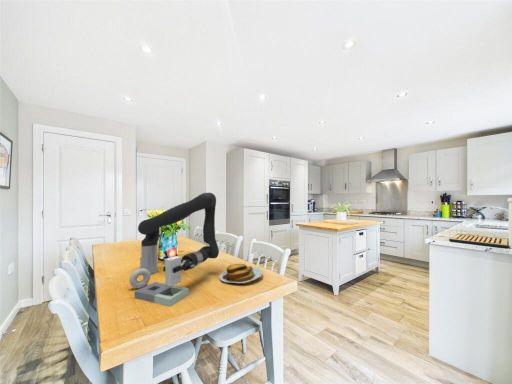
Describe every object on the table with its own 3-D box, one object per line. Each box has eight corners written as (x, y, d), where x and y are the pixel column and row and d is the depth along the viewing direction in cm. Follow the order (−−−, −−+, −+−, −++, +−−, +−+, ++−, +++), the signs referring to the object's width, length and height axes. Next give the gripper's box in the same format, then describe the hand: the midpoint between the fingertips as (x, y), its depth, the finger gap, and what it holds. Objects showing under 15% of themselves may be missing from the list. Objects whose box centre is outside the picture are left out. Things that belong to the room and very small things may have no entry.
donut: (130, 292, 107) (130, 271, 107) (128, 289, 109) (128, 270, 110) (151, 286, 114) (151, 267, 114) (149, 284, 116) (149, 265, 117)
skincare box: (176, 280, 105) (175, 255, 105) (182, 282, 102) (181, 256, 103) (164, 284, 100) (164, 258, 100) (170, 287, 97) (169, 260, 98)
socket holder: (134, 297, 101) (134, 291, 101) (155, 287, 112) (155, 281, 112) (170, 306, 92) (170, 299, 93) (188, 294, 104) (188, 288, 104)
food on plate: (258, 288, 111) (258, 275, 111) (212, 285, 115) (212, 273, 116) (265, 271, 136) (265, 261, 136) (227, 269, 140) (227, 259, 141)
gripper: (203, 268, 112) (181, 280, 96) (181, 265, 117) (156, 276, 101) (203, 253, 112) (180, 263, 96) (181, 251, 117) (156, 260, 101)
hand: (168, 270), depth 99 cm, fingers closed on skincare box, 5 cm apart
